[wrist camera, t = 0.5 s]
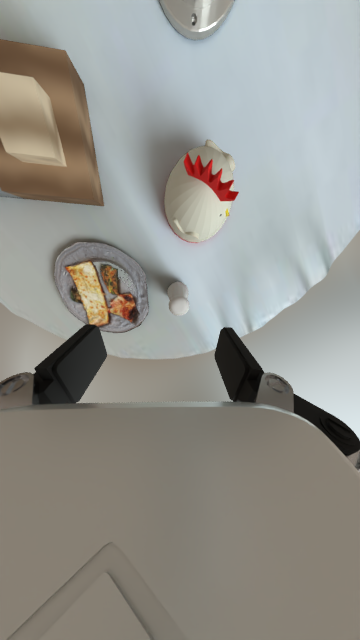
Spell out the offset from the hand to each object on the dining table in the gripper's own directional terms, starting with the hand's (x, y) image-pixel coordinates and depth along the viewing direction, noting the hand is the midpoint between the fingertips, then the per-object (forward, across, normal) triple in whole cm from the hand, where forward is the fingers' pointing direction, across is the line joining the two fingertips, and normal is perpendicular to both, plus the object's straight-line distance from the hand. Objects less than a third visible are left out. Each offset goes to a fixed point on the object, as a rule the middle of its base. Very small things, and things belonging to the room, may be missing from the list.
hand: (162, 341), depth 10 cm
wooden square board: (+29, +22, -21) cm, 42 cm away
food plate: (+29, +18, +6) cm, 35 cm away
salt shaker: (+29, -2, +4) cm, 29 cm away
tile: (+25, +22, -21) cm, 39 cm away
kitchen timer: (+29, -5, -15) cm, 33 cm away
